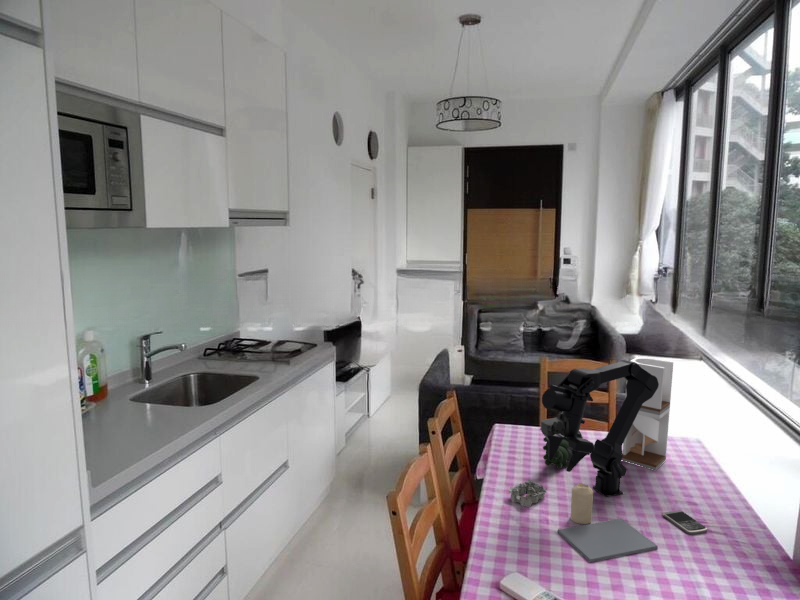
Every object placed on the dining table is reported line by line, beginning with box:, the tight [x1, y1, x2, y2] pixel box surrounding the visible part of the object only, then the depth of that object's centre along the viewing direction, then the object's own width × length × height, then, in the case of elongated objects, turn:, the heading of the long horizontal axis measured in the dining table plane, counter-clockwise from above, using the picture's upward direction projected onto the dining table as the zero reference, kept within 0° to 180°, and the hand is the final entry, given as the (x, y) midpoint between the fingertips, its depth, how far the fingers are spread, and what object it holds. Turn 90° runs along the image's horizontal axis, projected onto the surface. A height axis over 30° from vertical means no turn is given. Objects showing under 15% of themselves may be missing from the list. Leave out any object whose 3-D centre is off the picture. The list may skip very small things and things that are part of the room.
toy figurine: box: [542, 416, 584, 469], centre depth 197 cm, size 9×19×25 cm
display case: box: [622, 356, 674, 471], centre depth 196 cm, size 11×11×35 cm
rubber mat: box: [557, 517, 659, 563], centre depth 150 cm, size 20×14×1 cm
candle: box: [570, 482, 594, 525], centre depth 159 cm, size 6×6×10 cm
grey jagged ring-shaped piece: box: [508, 478, 548, 507], centre depth 172 cm, size 11×8×4 cm
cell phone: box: [661, 509, 708, 535], centre depth 159 cm, size 6×11×1 cm, turn 15°
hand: (558, 465), depth 167 cm, fingers open, 9 cm apart
